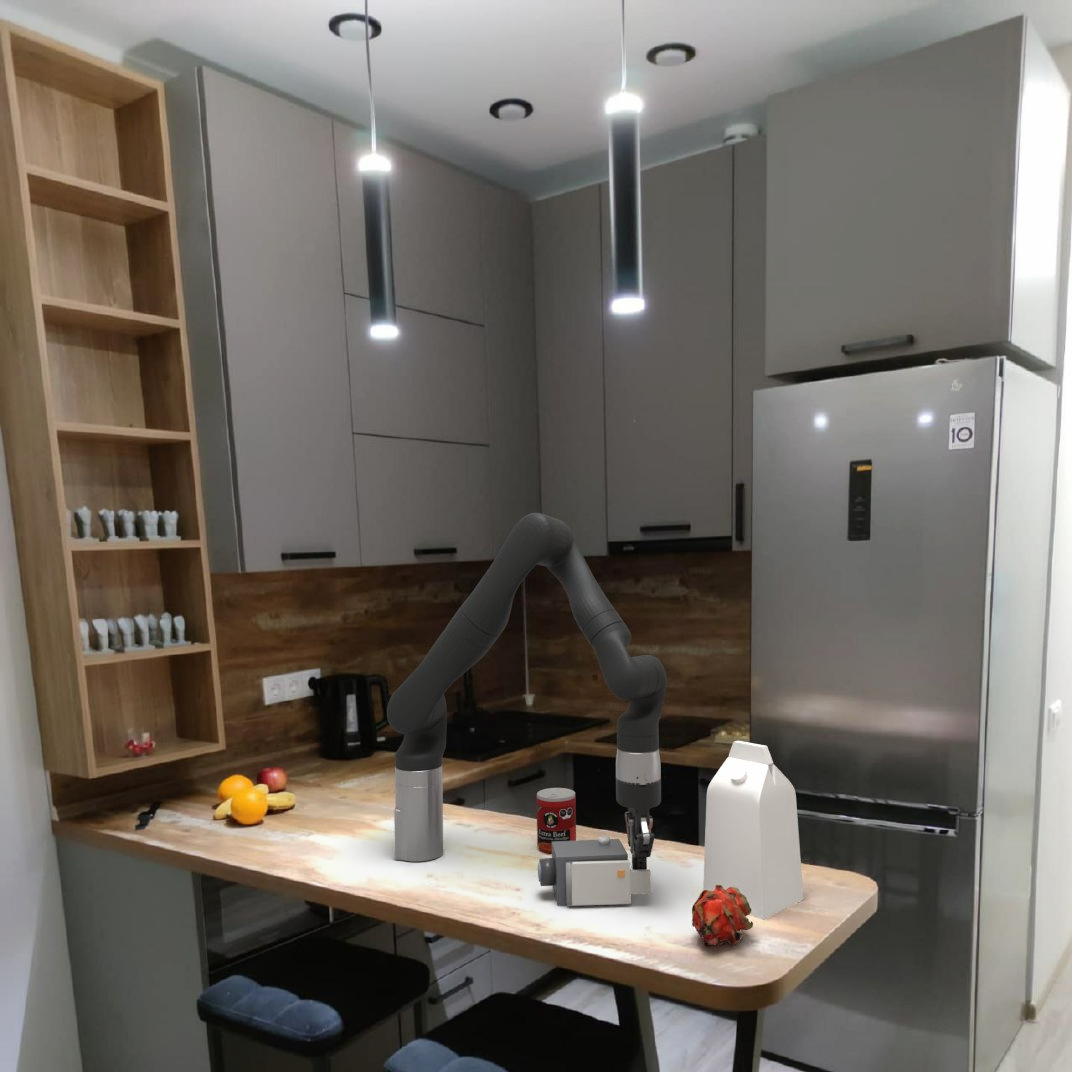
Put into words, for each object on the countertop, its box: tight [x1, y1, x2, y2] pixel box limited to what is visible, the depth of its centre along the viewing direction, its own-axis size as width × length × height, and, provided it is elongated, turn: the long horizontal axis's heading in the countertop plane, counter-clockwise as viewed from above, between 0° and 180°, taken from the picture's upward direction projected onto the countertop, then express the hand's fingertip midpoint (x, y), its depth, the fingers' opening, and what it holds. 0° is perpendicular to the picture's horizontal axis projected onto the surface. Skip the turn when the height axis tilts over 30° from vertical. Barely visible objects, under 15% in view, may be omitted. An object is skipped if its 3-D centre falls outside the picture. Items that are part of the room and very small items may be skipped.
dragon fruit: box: [691, 885, 754, 948], centre depth 131 cm, size 8×8×12 cm
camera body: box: [537, 835, 629, 907], centre depth 149 cm, size 15×8×9 cm, turn 95°
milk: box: [702, 740, 804, 920], centre depth 147 cm, size 12×12×26 cm
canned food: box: [536, 787, 577, 855], centre depth 173 cm, size 8×8×11 cm
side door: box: [565, 859, 652, 907], centre depth 145 cm, size 14×1×7 cm, turn 92°
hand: (639, 877), depth 147 cm, fingers closed
